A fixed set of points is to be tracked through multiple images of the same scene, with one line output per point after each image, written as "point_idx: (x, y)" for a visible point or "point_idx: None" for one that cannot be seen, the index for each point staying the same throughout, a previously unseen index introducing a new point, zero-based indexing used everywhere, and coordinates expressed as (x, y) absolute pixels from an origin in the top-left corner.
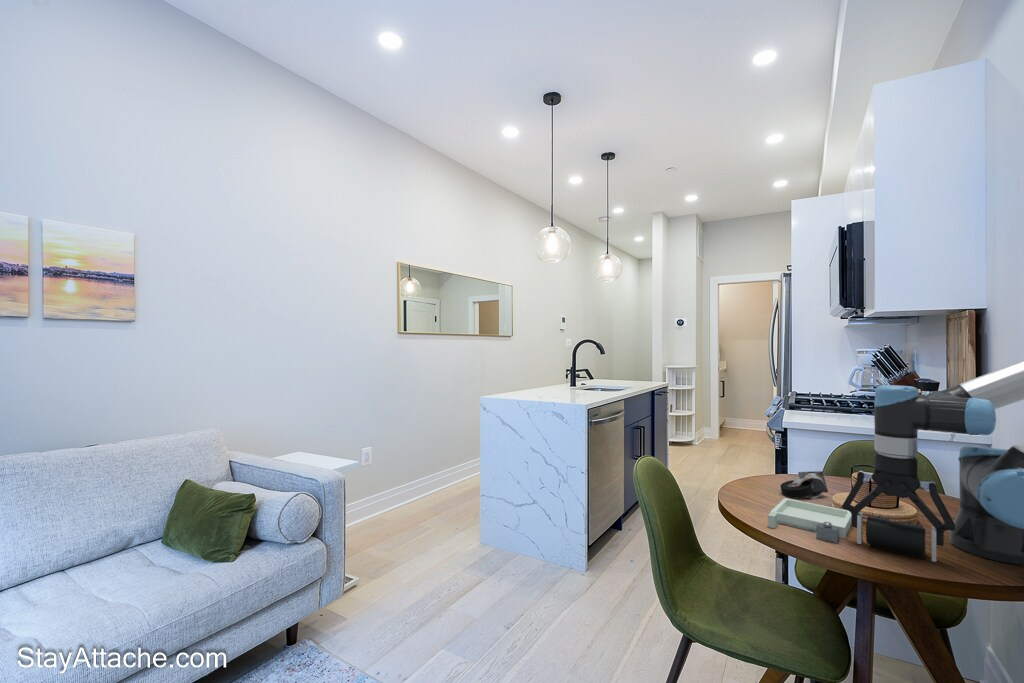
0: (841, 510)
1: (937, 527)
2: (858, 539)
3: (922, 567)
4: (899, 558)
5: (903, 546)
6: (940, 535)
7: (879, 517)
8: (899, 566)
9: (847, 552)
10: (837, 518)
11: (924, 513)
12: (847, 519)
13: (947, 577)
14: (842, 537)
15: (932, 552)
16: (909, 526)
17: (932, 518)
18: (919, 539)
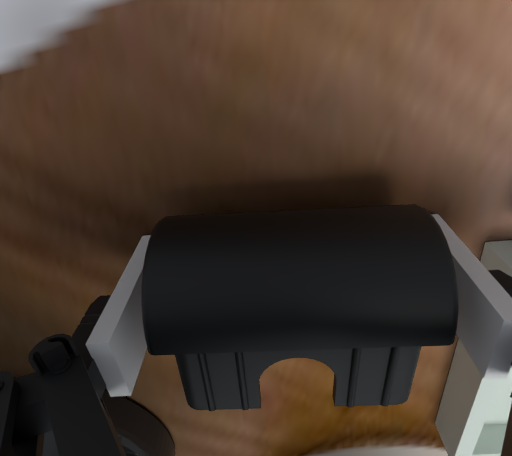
0: (495, 453)
1: (70, 370)
2: (441, 226)
3: (166, 133)
4: (263, 173)
5: (247, 213)
6: (83, 338)
7: (382, 393)
8: (245, 51)
9: (495, 47)
10: (497, 407)
11: (107, 453)
12: (486, 383)
13: (56, 85)
14: (496, 244)
15: (144, 258)
16: (222, 335)
17: (68, 424)
18: (165, 251)
